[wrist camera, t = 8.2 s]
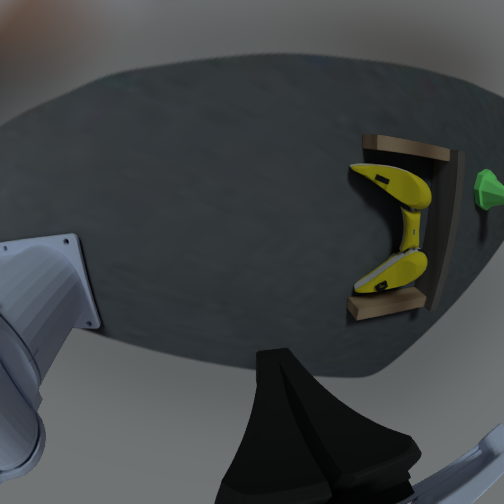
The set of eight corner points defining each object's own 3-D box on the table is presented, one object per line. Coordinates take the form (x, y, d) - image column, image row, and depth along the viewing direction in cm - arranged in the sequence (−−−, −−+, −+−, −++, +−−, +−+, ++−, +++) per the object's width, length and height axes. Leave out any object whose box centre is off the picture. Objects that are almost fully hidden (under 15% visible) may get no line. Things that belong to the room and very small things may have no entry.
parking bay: (346, 307, 22) (361, 327, 20) (362, 134, 17) (385, 134, 15) (419, 294, 24) (437, 309, 21) (441, 148, 18) (465, 152, 16)
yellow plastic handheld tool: (418, 272, 22) (429, 293, 18) (352, 276, 23) (355, 298, 20) (422, 160, 18) (438, 165, 15) (346, 161, 20) (351, 167, 17)
